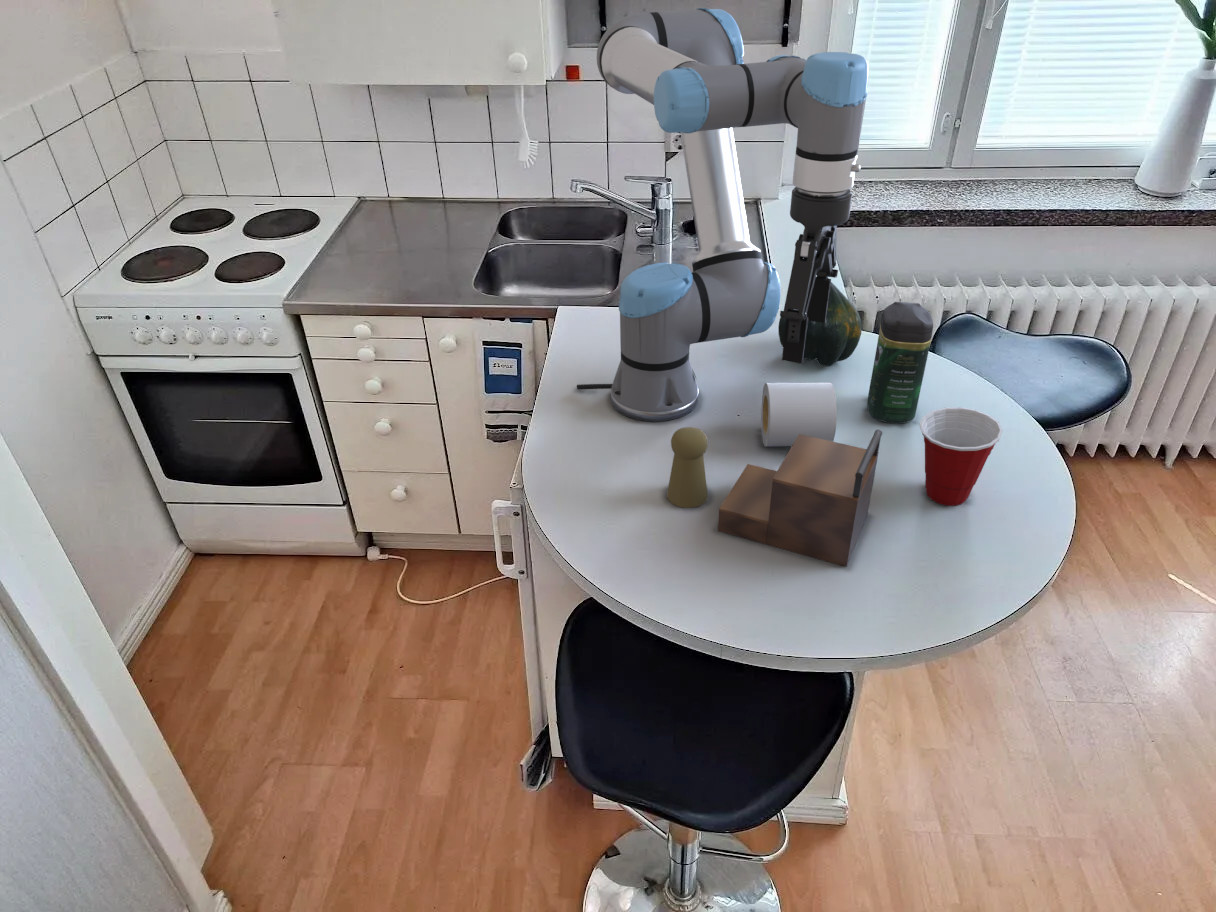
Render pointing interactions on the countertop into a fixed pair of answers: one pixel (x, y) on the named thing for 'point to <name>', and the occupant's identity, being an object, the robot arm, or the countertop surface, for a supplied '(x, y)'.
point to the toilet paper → (797, 412)
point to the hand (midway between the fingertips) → (804, 340)
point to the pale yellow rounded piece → (688, 468)
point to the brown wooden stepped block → (806, 499)
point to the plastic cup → (956, 451)
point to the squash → (831, 331)
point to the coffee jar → (899, 362)
